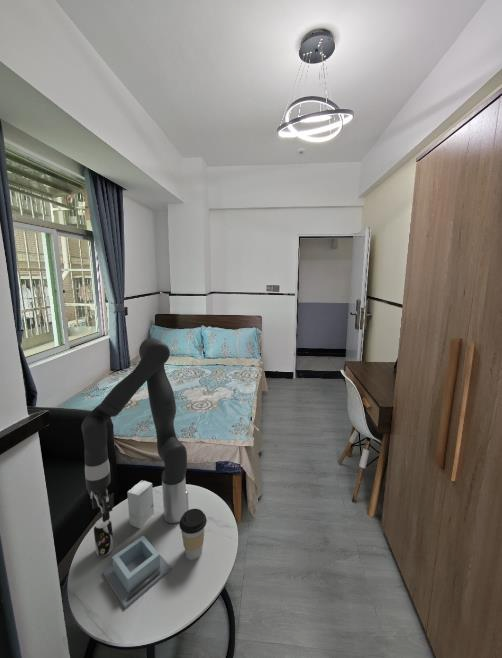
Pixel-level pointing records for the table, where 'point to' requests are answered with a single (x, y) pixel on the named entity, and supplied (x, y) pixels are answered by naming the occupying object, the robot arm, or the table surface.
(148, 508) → the skincare box
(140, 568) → the hollow square can holder
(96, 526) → the beverage can
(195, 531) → the coffee cup
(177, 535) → the table surface
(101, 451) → the robot arm
